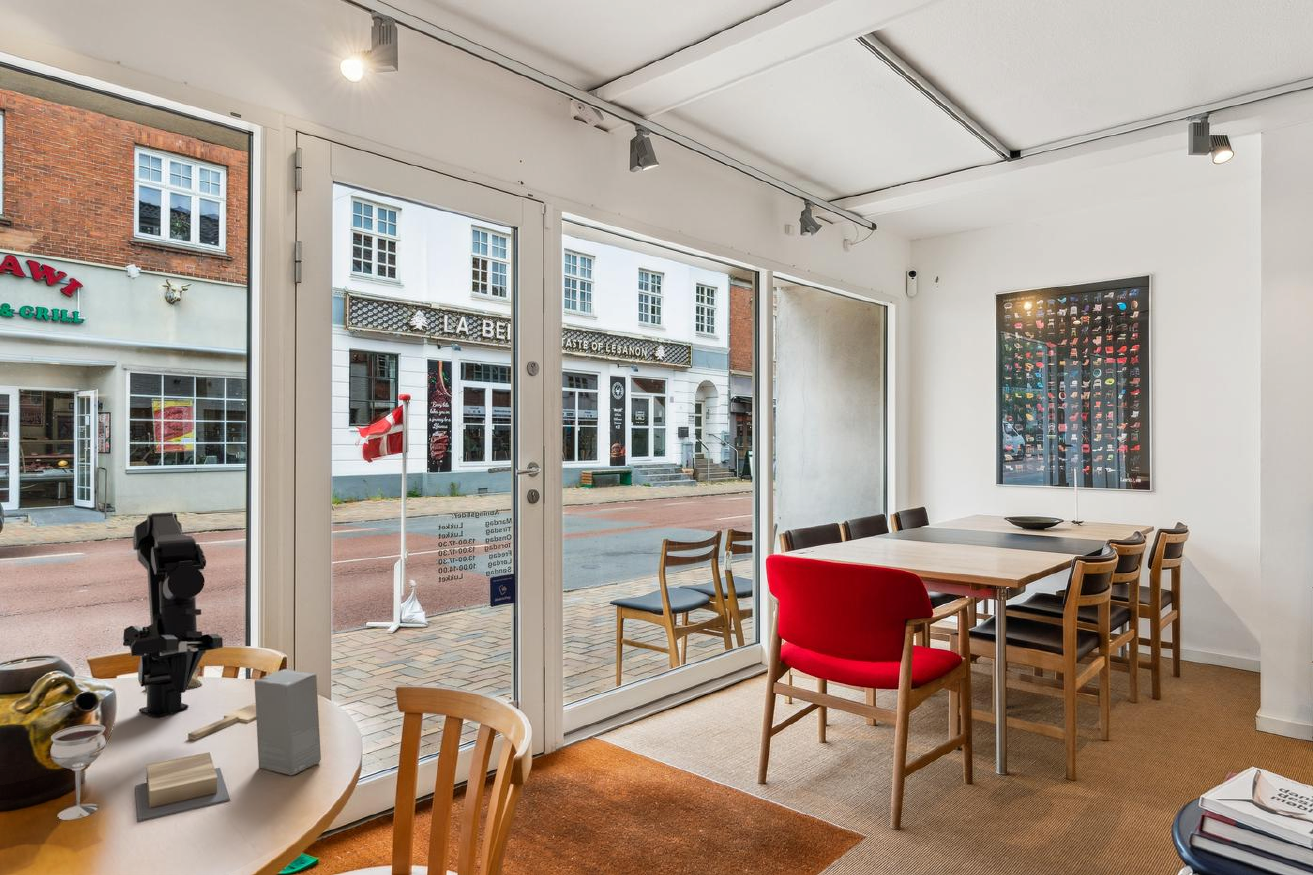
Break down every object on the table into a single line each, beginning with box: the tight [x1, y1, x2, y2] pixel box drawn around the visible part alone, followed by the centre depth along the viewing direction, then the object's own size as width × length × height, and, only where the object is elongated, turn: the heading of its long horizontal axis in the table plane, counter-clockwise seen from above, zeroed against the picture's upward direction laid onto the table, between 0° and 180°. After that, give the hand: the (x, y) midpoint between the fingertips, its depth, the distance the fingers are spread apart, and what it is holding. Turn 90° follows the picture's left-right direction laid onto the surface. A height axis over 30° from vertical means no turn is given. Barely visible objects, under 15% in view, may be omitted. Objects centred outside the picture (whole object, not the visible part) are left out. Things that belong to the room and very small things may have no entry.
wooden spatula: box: [187, 702, 256, 741], centre depth 154 cm, size 18×6×1 cm, turn 162°
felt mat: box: [135, 767, 231, 822], centre depth 125 cm, size 13×12×1 cm
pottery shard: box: [144, 665, 203, 692], centre depth 175 cm, size 11×4×10 cm
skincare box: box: [253, 668, 322, 776], centre depth 135 cm, size 8×7×16 cm
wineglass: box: [49, 723, 107, 821], centre depth 119 cm, size 7×7×12 cm
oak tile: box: [145, 752, 217, 808], centre depth 126 cm, size 3×9×11 cm
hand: (181, 693), depth 142 cm, fingers closed
